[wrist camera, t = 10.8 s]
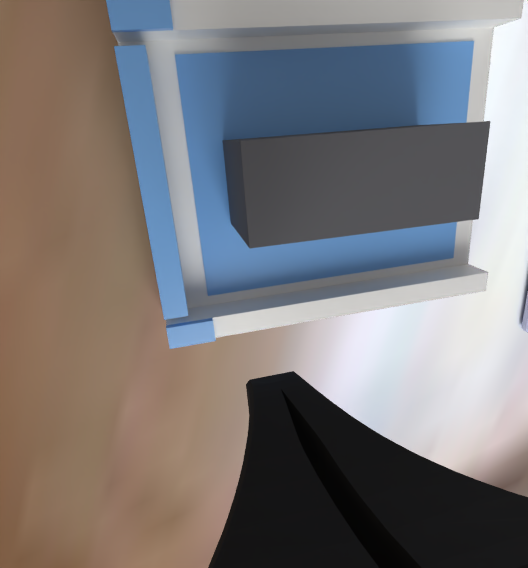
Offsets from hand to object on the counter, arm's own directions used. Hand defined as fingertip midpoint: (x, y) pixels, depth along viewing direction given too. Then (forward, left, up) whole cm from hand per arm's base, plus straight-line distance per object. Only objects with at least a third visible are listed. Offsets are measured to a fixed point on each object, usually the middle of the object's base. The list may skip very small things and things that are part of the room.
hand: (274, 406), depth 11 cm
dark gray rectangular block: (-5, -5, -9) cm, 11 cm away
